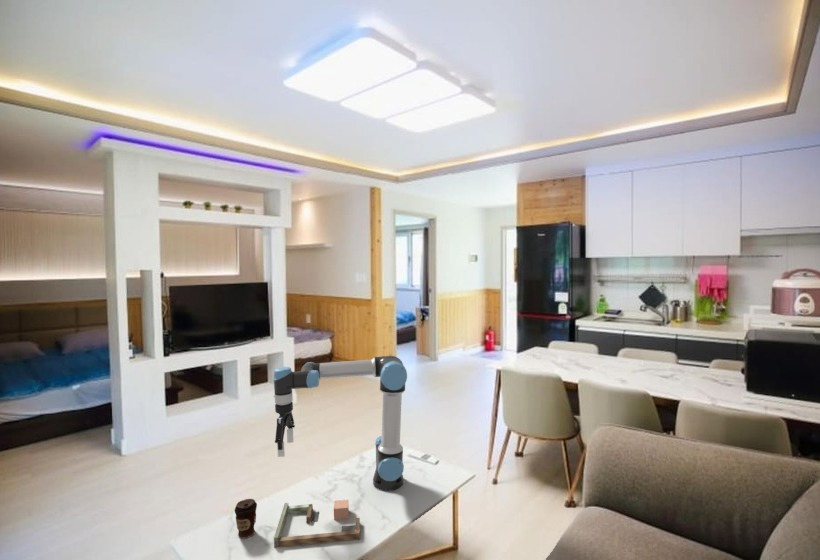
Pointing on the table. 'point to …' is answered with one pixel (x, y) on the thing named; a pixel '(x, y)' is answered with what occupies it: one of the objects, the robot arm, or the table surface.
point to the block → (341, 509)
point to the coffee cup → (246, 517)
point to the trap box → (344, 535)
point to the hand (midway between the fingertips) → (286, 449)
